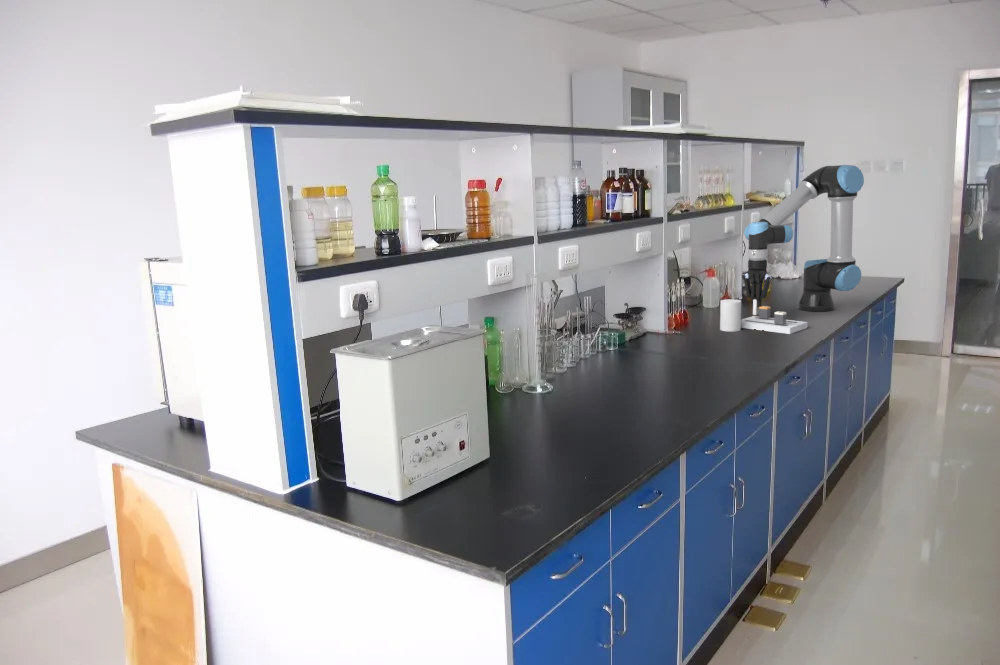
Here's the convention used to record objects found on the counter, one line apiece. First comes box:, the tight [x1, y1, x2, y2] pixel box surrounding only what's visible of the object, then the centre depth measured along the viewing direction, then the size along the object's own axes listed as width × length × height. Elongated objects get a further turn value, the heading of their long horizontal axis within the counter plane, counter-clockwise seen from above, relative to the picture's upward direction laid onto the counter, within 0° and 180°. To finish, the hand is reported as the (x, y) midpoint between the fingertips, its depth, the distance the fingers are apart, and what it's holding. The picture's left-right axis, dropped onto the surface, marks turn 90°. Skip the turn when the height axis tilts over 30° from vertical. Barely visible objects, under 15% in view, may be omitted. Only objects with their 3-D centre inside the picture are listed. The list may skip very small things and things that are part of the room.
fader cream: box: [773, 310, 787, 325], centre depth 296 cm, size 3×4×5 cm
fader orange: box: [758, 305, 771, 319], centre depth 309 cm, size 3×4×5 cm
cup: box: [719, 298, 742, 333], centre depth 303 cm, size 8×8×12 cm
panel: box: [741, 315, 809, 335], centre depth 304 cm, size 15×24×3 cm, turn 42°
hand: (756, 314), depth 313 cm, fingers closed
